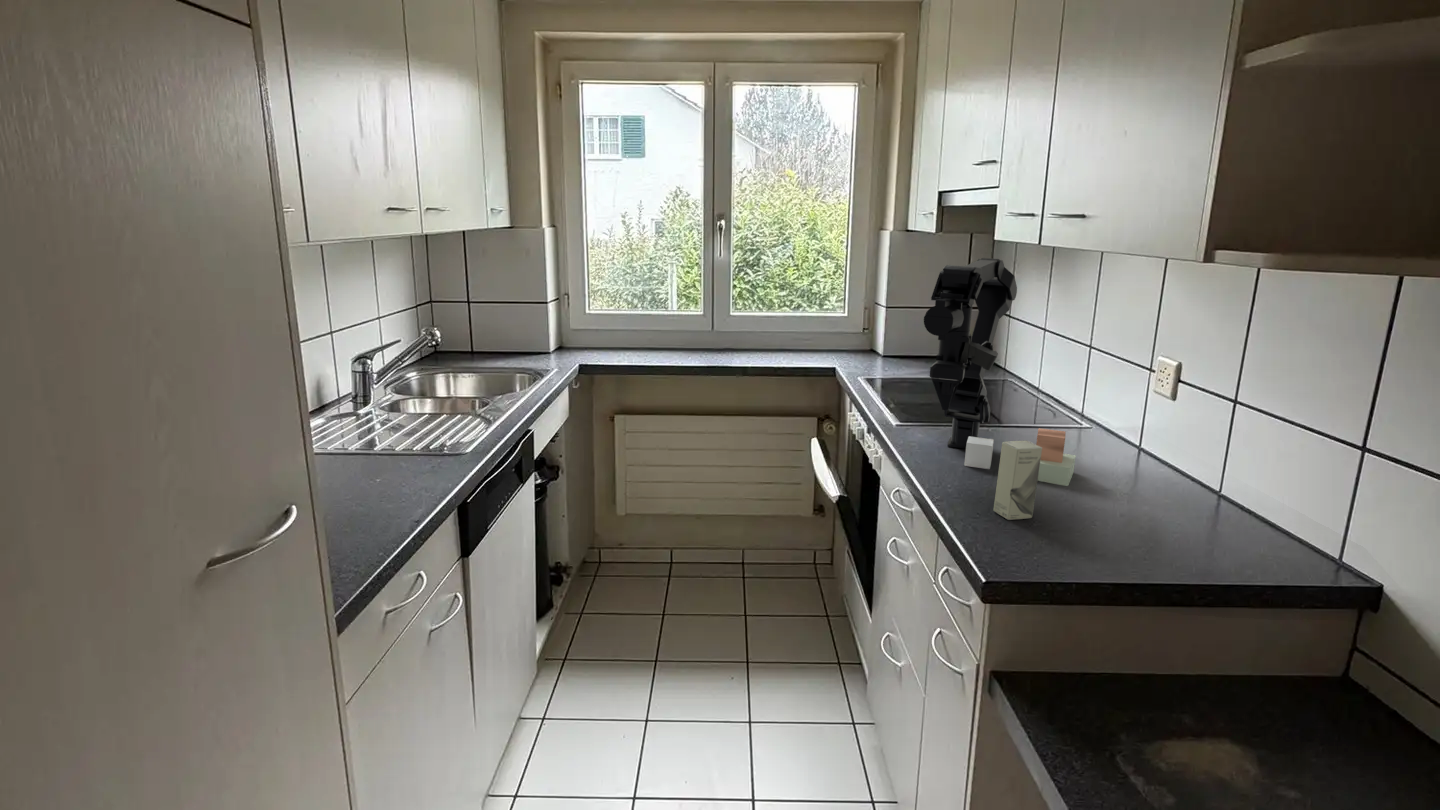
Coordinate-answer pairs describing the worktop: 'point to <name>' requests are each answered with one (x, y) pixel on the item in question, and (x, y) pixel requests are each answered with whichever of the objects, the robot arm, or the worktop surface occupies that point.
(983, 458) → the grey cube
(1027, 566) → the worktop surface
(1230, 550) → the worktop surface
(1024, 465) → the box
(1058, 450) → the terracotta cube
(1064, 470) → the sage base block
